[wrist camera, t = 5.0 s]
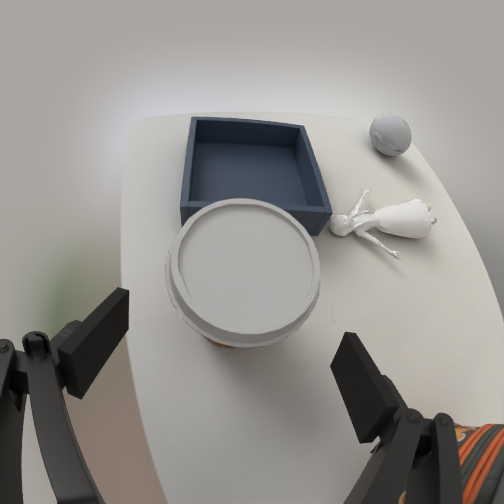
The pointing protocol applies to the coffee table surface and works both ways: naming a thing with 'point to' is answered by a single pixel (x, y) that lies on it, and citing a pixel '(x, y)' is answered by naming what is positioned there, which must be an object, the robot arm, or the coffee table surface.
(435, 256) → the coffee table surface
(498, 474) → the lidded tankard
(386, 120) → the bath bomb
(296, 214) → the bin
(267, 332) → the disposable coffee cup
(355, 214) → the woman figurine
